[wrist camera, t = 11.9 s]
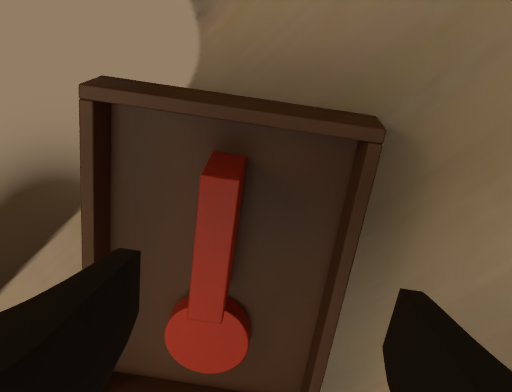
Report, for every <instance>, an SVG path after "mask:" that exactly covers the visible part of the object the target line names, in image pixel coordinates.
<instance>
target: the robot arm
mask: <svg viewBox="0 0 512 392" xmlns="http://www.w3.org/2000/svg"><path fill="white" fill-rule="evenodd" d="M140 266H141V251H139V250H132V249H125V248H118V249H116V250H114V251H112V252H111V253H109V254H107V255H106V256H104V257H103V258H101V259H99V260H98V261H96V262H95V263H93V264H91V265H90V266H88V267H86V268H85V269H83V270H81V271H80V272H78V273H76V274H75V275H73V276H71V277H70V278H68V279H66V280H65V281H63V282H61V283H59V284H57V285H55V286H53V287H52V288H50V289H48V290H46V291H44V292H42V293H40V294H39V295H37V296H35V297H33V298H31V299H29V300H27V301H25V302H22V303H20V304H18V305H16V306H14V307H11V308H9V309H7V310H4V311H2V312H0V392H102V390H103V388H104V386H105V385H106V383H107V381H108V379H109V377H110V375H111V373H112V371H113V370H114V368H115V366H116V364H117V362H118V360H119V358H120V356H121V354H122V352H123V351H124V349H125V347H126V345H127V343H128V340H129V337H130V335H131V332H132V330H133V327H134V324H135V321H136V319H137V316H138V313H139V300H140ZM383 355H384V363H385V370H386V376H387V382H388V386H389V390H390V392H512V371H511V370H510V369H508V368H507V367H506V366H505V365H504V364H502V363H501V362H500V361H499V360H498V359H496V358H495V357H494V356H493V355H492V354H490V353H489V352H488V351H487V350H486V349H485V348H484V347H482V346H481V345H480V344H479V343H478V342H477V341H476V340H475V339H473V338H472V337H471V336H470V335H469V334H468V333H467V332H466V331H465V330H464V329H463V328H462V327H460V326H459V325H458V324H457V323H456V322H455V321H454V320H453V319H452V318H451V317H450V316H449V315H448V314H447V313H446V312H445V311H444V310H442V309H441V308H440V307H439V306H438V305H437V304H436V303H435V302H434V301H433V300H432V299H431V298H429V297H428V296H427V295H426V294H425V293H423V292H421V291H414V290H407V289H400V291H399V294H398V297H397V301H396V304H395V307H394V311H393V314H392V317H391V321H390V324H389V327H388V330H387V334H386V337H385V340H384V344H383Z"/></svg>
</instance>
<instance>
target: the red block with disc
mask: <svg viewBox="0 0 512 392" xmlns="http://www.w3.org/2000/svg"><path fill="white" fill-rule="evenodd" d="M246 162H247V157H246V156H242V155H235V154H228V153H222V152H215V151H214V152H212V154H211V156H210V158H209V160H208V161H207V163H206V165H205V167H204V169H203V171H202V173H201V175H200V179H199V190H198V201H197V212H196V223H195V234H194V245H193V256H192V267H191V278H190V289H189V296H187V297H185V298H183V299H182V300H181V301H179V302H178V303H177V304H176V305H175V307H174V308H173V310H172V312H171V314H170V316H169V319H168V322H167V324H166V327H165V331H164V340H165V344H166V347H167V349H168V351H169V353H170V354H171V356H172V357H173V358H174V359H175V360H176V361H177V362H178V363H179V364H181V365H182V366H184V367H186V368H188V369H190V370H193V371H196V372H200V373H207V374H214V373H221V372H225V371H228V370H230V369H232V368H234V367H235V366H237V365H238V364H239V363H240V362H241V361H242V360H243V359H244V357H245V355H246V353H247V351H248V347H249V339H250V329H251V328H250V322H249V319H248V316H247V314H246V313H245V311H244V310H243V308H242V307H241V306H240V305H239V304H238V303H236V302H235V301H234V300H232V299H230V298H229V297H228V293H229V288H230V283H231V275H232V268H233V260H234V253H235V245H236V238H237V230H238V223H239V215H240V208H241V200H242V193H243V185H244V177H245V170H246Z"/></svg>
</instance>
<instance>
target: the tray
mask: <svg viewBox="0 0 512 392" xmlns="http://www.w3.org/2000/svg"><path fill="white" fill-rule="evenodd" d="M79 98H80V99H79V121H80V122H79V125H80V176H81V227H82V270H83V269H85V268H86V267H88V266H90V265H91V264H93V263H95V262H96V261H98V260H99V259H101V258H103V257H104V256H106V255H107V254H109V253H111V252H112V251H114V250H116V249H118V248H125V249H132V250H139V251H141V266H140V300H139V313H138V316H137V319H136V321H135V324H134V327H133V330H132V332H131V335H130V337H129V340H128V343H127V345H126V347H125V349H124V351H123V352H122V354H121V356H120V358H119V360H118V362H117V364H116V366H115V368H114V370H113V371H112V373H111V375H110V377H109V379H108V381H107V383H106V385H105V386H104V388H103V390H102V392H320V389H321V386H322V382H323V378H324V374H325V370H326V366H327V362H328V358H329V354H330V350H331V346H332V342H333V339H334V335H335V331H336V327H337V323H338V319H339V315H340V311H341V307H342V303H343V299H344V295H345V291H346V288H347V284H348V280H349V276H350V272H351V268H352V264H353V260H354V256H355V252H356V248H357V244H358V240H359V237H360V233H361V229H362V225H363V221H364V217H365V213H366V209H367V205H368V201H369V197H370V193H371V190H372V186H373V182H374V178H375V174H376V170H377V166H378V162H379V158H380V154H381V150H382V146H383V145H382V144H383V142H384V139H385V135H386V129H385V128H384V126H383V125H382V124H381V123H380V121H379V120H378V119H377V117H376V116H370V115H364V114H357V113H350V112H344V111H337V110H330V109H323V108H317V107H310V106H303V105H297V104H290V103H283V102H276V101H270V100H263V99H256V98H250V97H243V96H236V95H230V94H223V93H216V92H209V91H203V90H196V89H189V88H183V87H176V86H169V85H162V84H156V83H149V82H142V81H136V80H129V79H122V78H115V77H109V76H99V77H97V78H95V79H92V80H89V81H86V82H83V83H81V84H79ZM214 151H215V152H222V153H228V154H235V155H242V156H246V157H247V162H246V170H245V177H244V185H243V193H242V200H241V208H240V215H239V223H238V230H237V238H236V245H235V253H234V260H233V268H232V275H231V283H230V288H229V293H228V297H229V298H230V299H232V300H234V301H235V302H236V303H238V304H239V305H240V306H241V307H242V308H243V310H244V311H245V313H246V314H247V316H248V319H249V322H250V328H251V329H250V339H249V347H248V351H247V353H246V355H245V357H244V359H243V360H242V361H241V362H240V363H239V364H238V365H237V366H235V367H234V368H232V369H230V370H228V371H225V372H221V373H214V374H207V373H200V372H196V371H193V370H190V369H188V368H186V367H184V366H182V365H181V364H179V363H178V362H177V361H176V360H175V359H174V358H173V357H172V356H171V354H170V353H169V351H168V349H167V347H166V344H165V340H164V331H165V327H166V324H167V322H168V319H169V316H170V314H171V312H172V310H173V308H174V307H175V305H176V304H177V303H178V302H179V301H181V300H182V299H183V298H185V297H187V296H189V289H190V278H191V267H192V256H193V245H194V234H195V223H196V212H197V201H198V190H199V179H200V175H201V173H202V171H203V169H204V167H205V165H206V163H207V161H208V160H209V158H210V156H211V154H212V152H214Z"/></svg>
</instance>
